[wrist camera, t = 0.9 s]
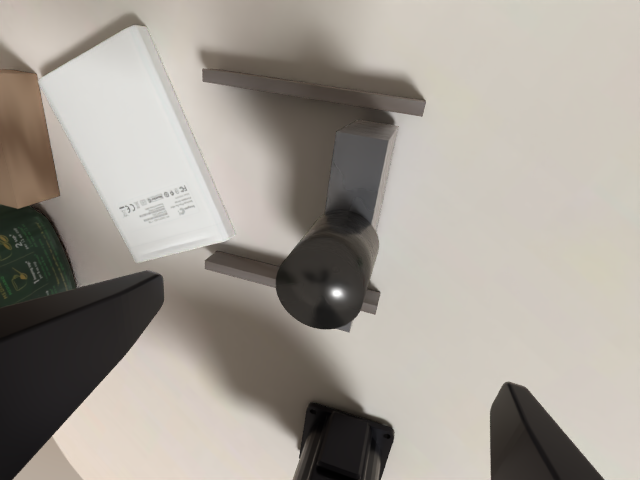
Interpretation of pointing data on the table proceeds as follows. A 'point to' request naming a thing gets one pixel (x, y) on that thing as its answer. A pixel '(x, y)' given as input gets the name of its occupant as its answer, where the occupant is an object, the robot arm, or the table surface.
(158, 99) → the external hard drive
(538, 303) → the table surface
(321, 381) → the table surface
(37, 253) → the coffee jar
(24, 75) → the base
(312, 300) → the clamp jaw
